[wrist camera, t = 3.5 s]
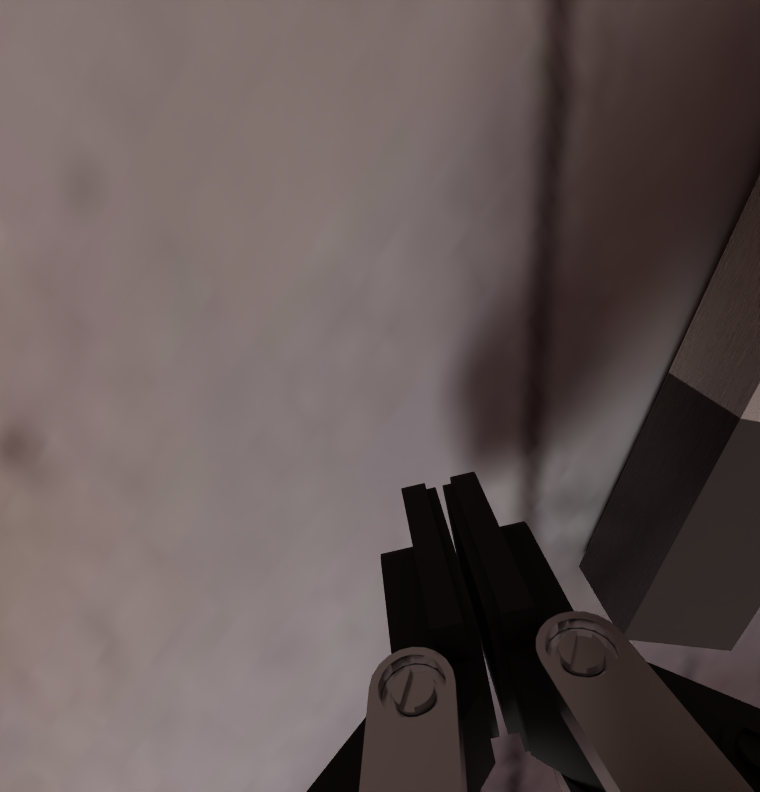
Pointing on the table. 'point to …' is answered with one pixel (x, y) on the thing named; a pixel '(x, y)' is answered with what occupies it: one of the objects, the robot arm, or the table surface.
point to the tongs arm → (694, 477)
